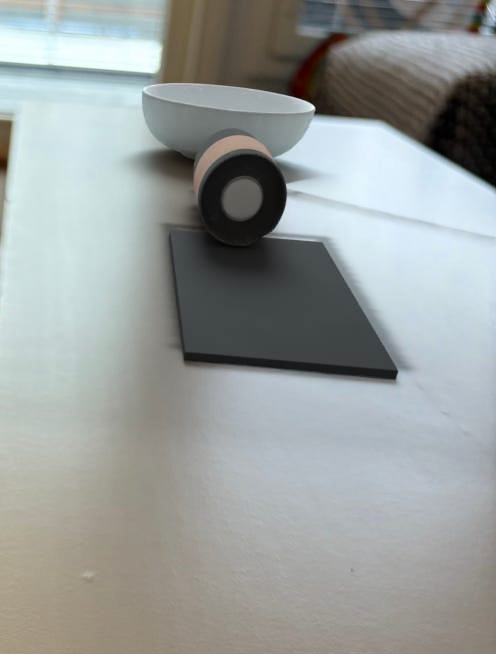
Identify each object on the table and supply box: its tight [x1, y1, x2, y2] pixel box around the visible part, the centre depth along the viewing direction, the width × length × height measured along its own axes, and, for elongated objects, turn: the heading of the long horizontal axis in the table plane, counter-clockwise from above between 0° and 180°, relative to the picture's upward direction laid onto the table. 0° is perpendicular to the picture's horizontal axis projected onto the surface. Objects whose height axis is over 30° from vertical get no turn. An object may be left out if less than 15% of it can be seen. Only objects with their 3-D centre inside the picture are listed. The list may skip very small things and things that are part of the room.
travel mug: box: [192, 128, 288, 246], centre depth 92 cm, size 8×8×20 cm
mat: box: [168, 229, 399, 380], centre depth 77 cm, size 32×14×1 cm, turn 174°
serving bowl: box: [141, 82, 316, 161], centre depth 120 cm, size 21×21×7 cm
